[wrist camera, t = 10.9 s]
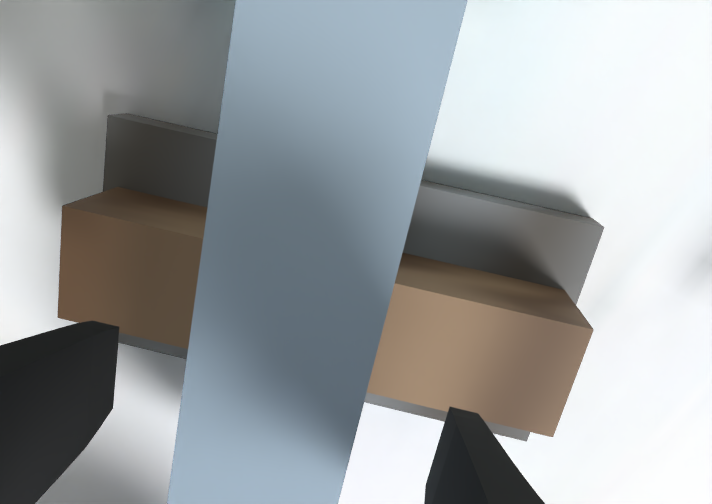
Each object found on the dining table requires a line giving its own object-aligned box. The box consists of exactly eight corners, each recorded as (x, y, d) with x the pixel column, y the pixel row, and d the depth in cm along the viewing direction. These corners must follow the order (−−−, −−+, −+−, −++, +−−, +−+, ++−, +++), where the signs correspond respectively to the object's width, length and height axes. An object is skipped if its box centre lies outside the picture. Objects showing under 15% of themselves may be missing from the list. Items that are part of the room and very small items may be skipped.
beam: (312, 573, 18) (275, 745, 13) (210, 546, 18) (139, 708, 14) (458, -7, 13) (483, -61, 8) (312, -40, 13) (251, -112, 8)
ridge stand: (592, 218, 18) (642, 256, 14) (520, 421, 20) (545, 502, 16) (126, 113, 19) (47, 121, 15) (110, 322, 21) (39, 378, 17)
